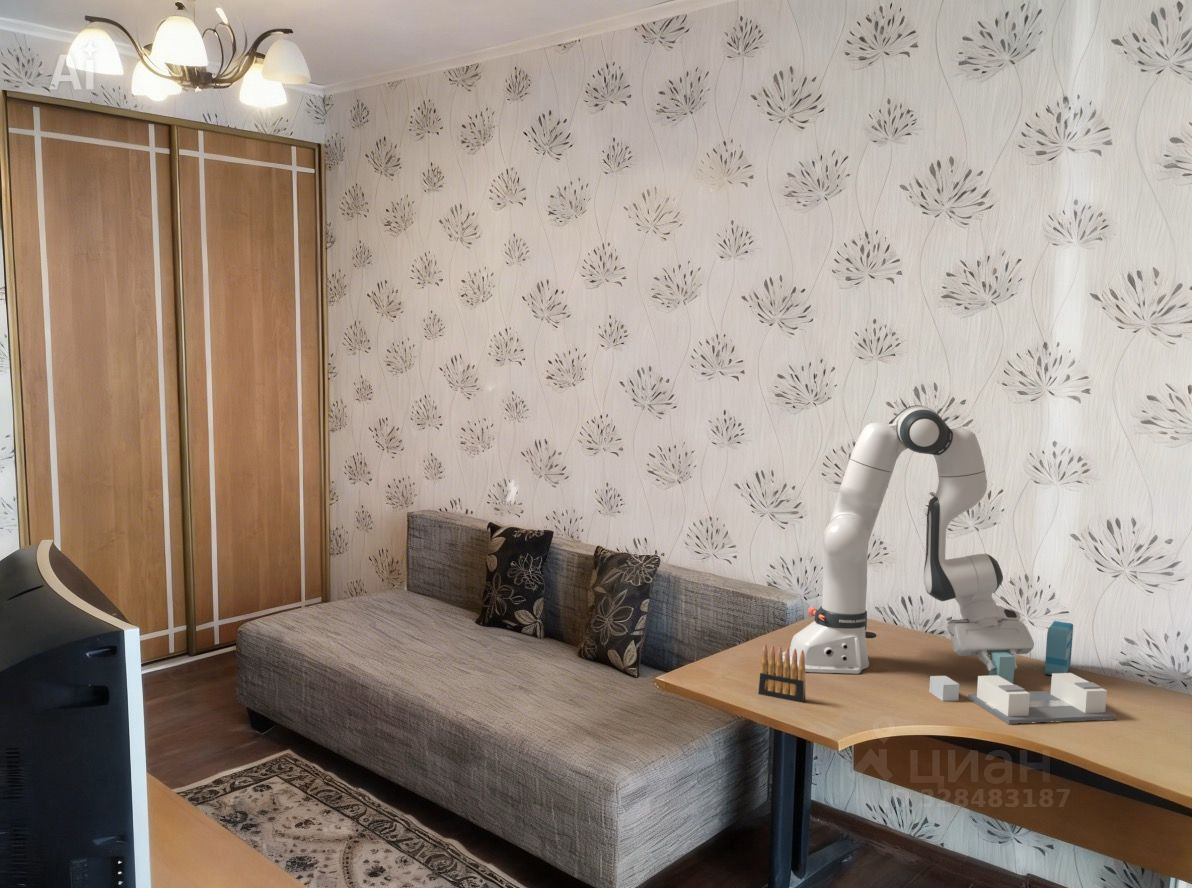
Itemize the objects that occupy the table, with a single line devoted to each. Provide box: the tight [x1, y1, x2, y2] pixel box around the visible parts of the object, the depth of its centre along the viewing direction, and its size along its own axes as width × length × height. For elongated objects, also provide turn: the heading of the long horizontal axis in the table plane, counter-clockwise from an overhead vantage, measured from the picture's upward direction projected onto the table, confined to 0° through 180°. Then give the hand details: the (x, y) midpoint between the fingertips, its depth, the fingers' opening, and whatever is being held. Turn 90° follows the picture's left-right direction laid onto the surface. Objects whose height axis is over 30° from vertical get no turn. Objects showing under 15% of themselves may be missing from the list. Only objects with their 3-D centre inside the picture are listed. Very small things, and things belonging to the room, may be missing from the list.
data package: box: [1044, 620, 1074, 676], centre depth 238 cm, size 12×4×12 cm, turn 146°
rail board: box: [967, 690, 1116, 725], centre depth 212 cm, size 26×16×1 cm, turn 100°
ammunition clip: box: [757, 643, 806, 703], centre depth 214 cm, size 11×2×12 cm, turn 62°
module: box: [988, 652, 1016, 684], centre depth 226 cm, size 4×4×8 cm
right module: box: [1050, 672, 1108, 713], centre depth 213 cm, size 5×12×5 cm, turn 9°
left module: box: [976, 675, 1030, 716], centre depth 210 cm, size 5×12×5 cm, turn 10°
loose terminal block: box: [928, 675, 960, 702], centre depth 218 cm, size 4×6×4 cm, turn 10°
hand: (1003, 669), depth 225 cm, fingers closed on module, 4 cm apart
